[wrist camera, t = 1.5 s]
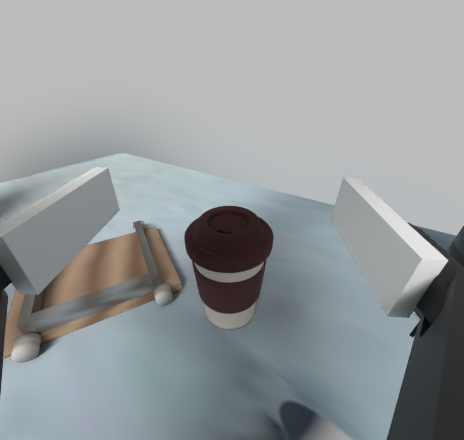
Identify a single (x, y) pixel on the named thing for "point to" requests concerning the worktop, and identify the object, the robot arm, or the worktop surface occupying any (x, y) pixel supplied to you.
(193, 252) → the coffee cup
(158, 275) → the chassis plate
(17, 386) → the worktop surface
